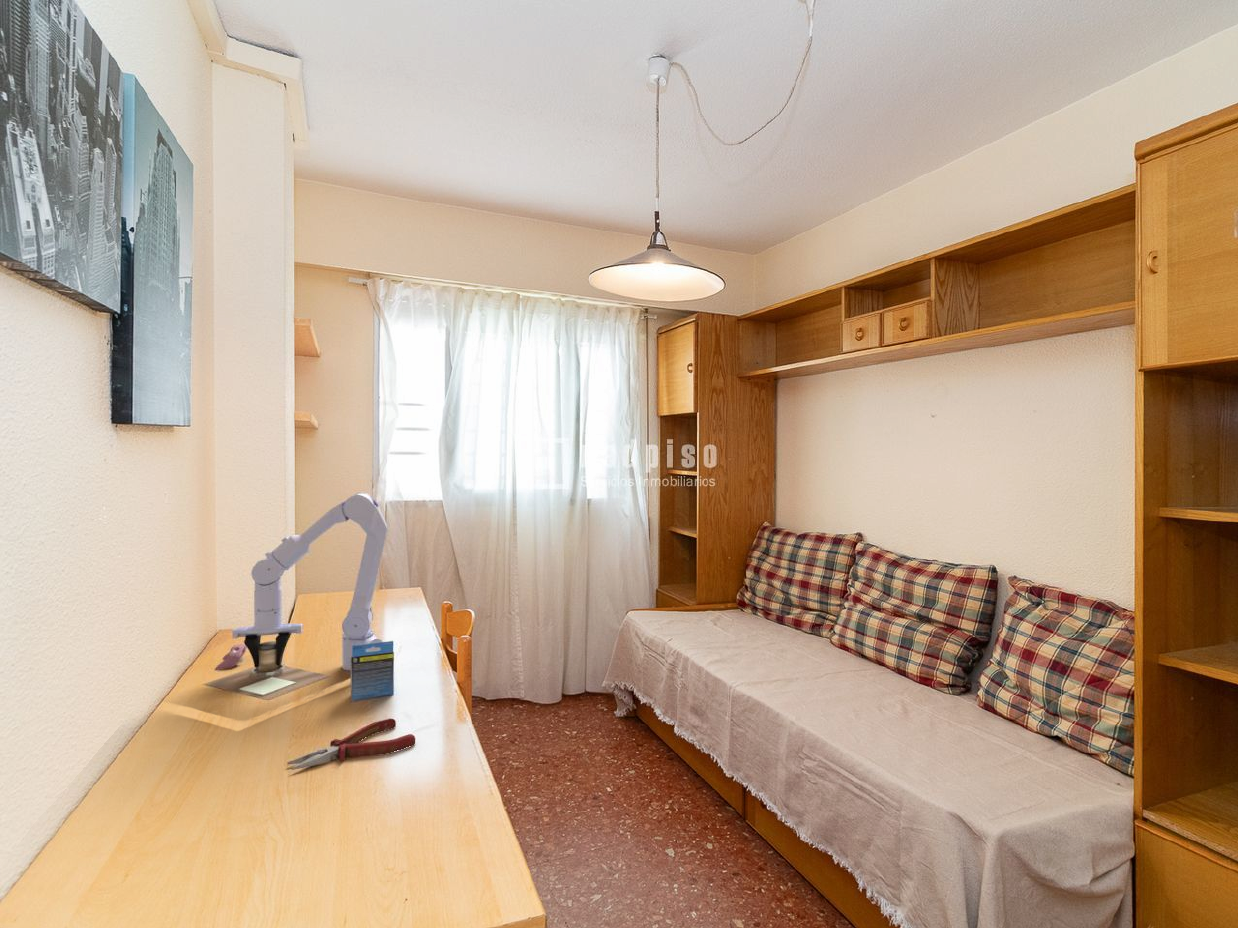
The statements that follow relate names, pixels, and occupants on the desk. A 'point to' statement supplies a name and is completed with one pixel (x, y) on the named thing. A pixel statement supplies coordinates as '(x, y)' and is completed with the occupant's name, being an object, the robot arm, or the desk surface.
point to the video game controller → (233, 657)
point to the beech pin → (267, 656)
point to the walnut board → (245, 678)
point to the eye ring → (257, 674)
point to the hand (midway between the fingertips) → (268, 665)
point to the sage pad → (267, 686)
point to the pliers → (356, 746)
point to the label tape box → (372, 670)
